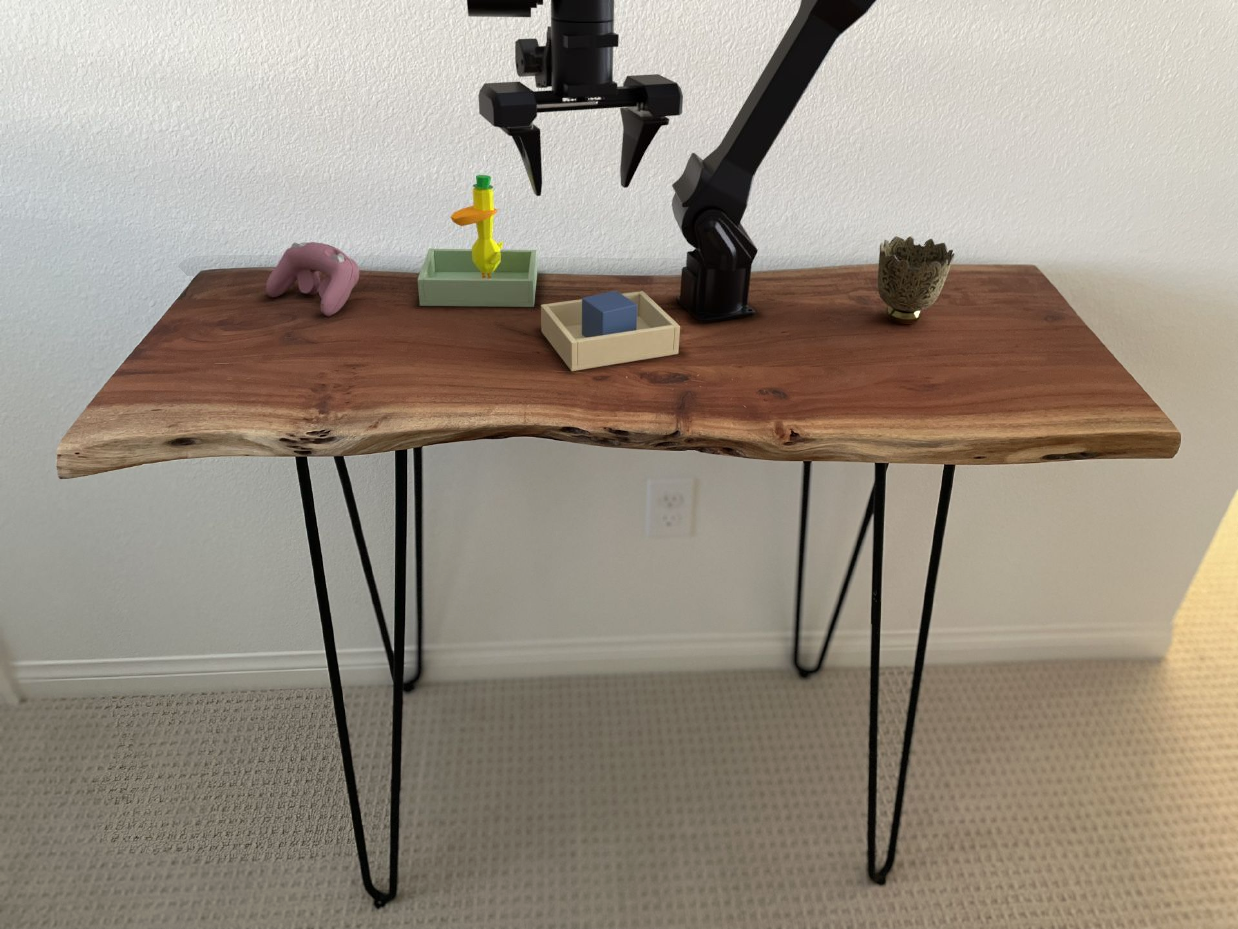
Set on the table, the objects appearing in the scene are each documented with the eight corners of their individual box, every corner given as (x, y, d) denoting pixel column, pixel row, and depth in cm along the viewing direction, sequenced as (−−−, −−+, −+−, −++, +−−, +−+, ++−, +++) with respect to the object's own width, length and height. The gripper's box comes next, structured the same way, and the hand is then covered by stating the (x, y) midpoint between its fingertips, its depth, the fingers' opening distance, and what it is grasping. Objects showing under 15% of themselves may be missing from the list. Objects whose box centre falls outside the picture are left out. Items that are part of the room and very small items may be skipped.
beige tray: (641, 317, 99) (642, 290, 97) (678, 354, 92) (680, 326, 90) (541, 331, 95) (540, 304, 94) (571, 371, 88) (571, 342, 87)
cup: (861, 326, 98) (874, 253, 94) (872, 300, 104) (885, 231, 100) (933, 339, 96) (951, 265, 92) (941, 312, 102) (958, 242, 98)
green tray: (537, 274, 108) (536, 249, 106) (533, 307, 100) (533, 280, 99) (431, 273, 107) (428, 248, 106) (419, 305, 100) (417, 279, 98)
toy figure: (468, 298, 100) (460, 187, 94) (447, 288, 103) (439, 179, 96) (515, 282, 105) (512, 174, 98) (495, 273, 107) (490, 167, 100)
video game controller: (356, 321, 100) (370, 256, 98) (324, 316, 96) (339, 249, 94) (292, 299, 104) (305, 237, 103) (259, 294, 100) (272, 229, 99)
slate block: (615, 326, 96) (616, 290, 93) (636, 341, 93) (637, 304, 91) (581, 334, 94) (581, 297, 92) (602, 350, 91) (602, 312, 89)
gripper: (642, 3, 93) (636, 161, 102) (459, 8, 87) (469, 175, 96) (690, 20, 85) (679, 191, 93) (491, 26, 78) (499, 209, 87)
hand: (581, 190), depth 93 cm, fingers open, 9 cm apart
